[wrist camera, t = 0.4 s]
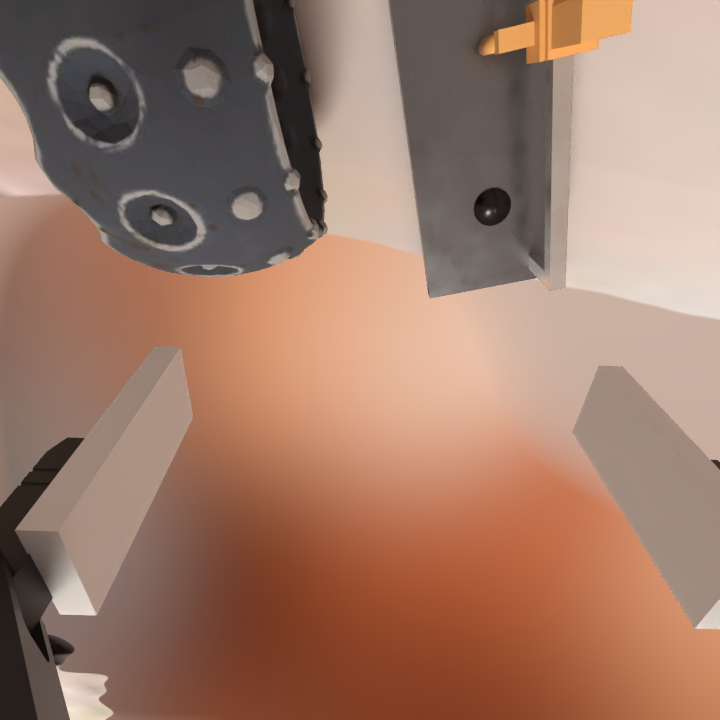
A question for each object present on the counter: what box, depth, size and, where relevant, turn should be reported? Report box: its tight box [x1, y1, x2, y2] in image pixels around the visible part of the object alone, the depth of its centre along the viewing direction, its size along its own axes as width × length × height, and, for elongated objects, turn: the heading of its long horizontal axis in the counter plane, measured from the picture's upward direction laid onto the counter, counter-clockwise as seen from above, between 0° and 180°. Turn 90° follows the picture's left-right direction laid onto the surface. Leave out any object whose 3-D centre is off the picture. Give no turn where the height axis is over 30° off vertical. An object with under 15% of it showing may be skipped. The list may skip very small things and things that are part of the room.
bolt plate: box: [388, 0, 546, 298], centre depth 34 cm, size 28×12×1 cm, turn 12°
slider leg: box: [478, 0, 633, 64], centre depth 26 cm, size 3×6×10 cm, turn 102°
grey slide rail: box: [529, 55, 573, 291], centre depth 31 cm, size 26×5×7 cm, turn 12°
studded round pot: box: [0, 0, 328, 277], centre depth 25 cm, size 11×20×20 cm, turn 9°
